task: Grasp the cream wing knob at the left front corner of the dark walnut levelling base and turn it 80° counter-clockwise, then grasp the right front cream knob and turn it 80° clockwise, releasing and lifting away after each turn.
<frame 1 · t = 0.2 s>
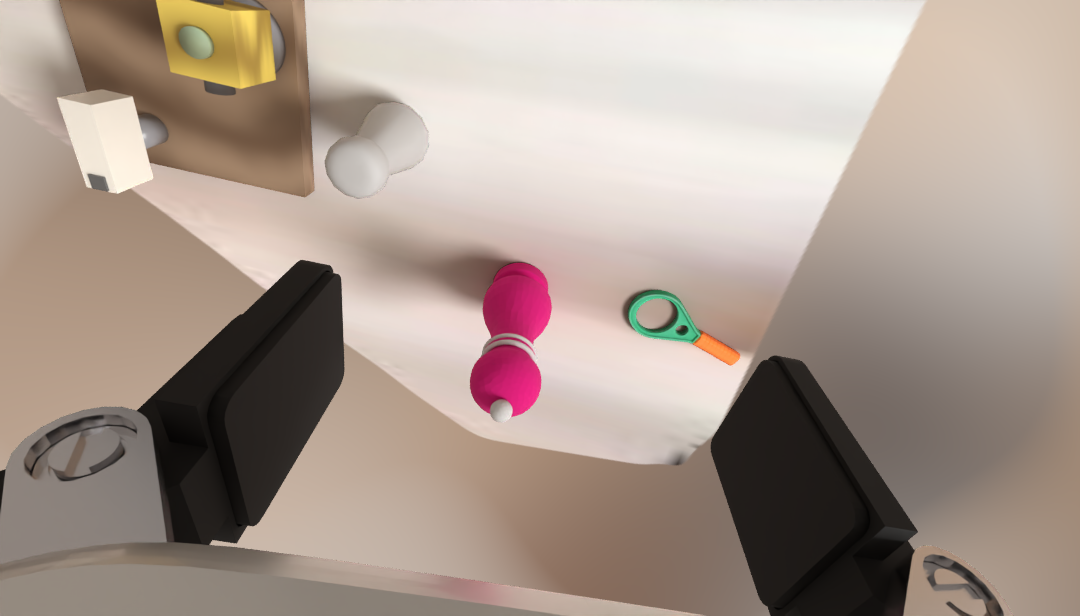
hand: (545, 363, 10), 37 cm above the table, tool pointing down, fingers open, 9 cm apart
level base: (195, 19, 39), on the table
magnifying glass: (683, 325, 55), on the table
salt shaker: (404, 130, 43), on the table
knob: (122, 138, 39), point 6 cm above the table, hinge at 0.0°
pepper mill: (520, 285, 52), on the table
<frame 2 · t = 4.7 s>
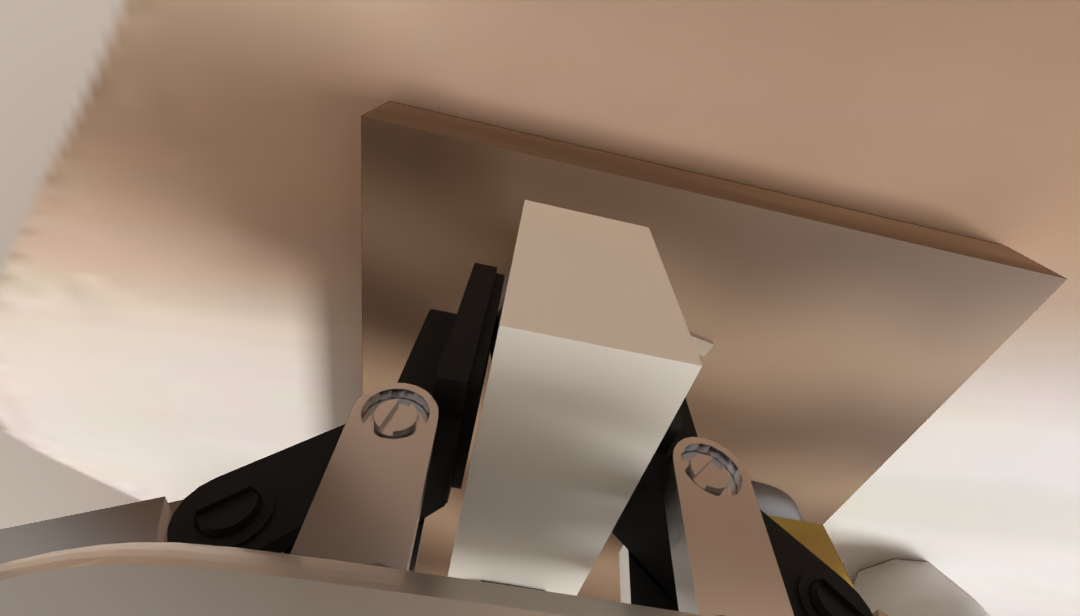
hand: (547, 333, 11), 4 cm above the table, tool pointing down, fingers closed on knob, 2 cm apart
level base: (591, 462, 20), on the table
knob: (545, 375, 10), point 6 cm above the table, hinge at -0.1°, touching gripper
salt shaker: (890, 574, 24), on the table
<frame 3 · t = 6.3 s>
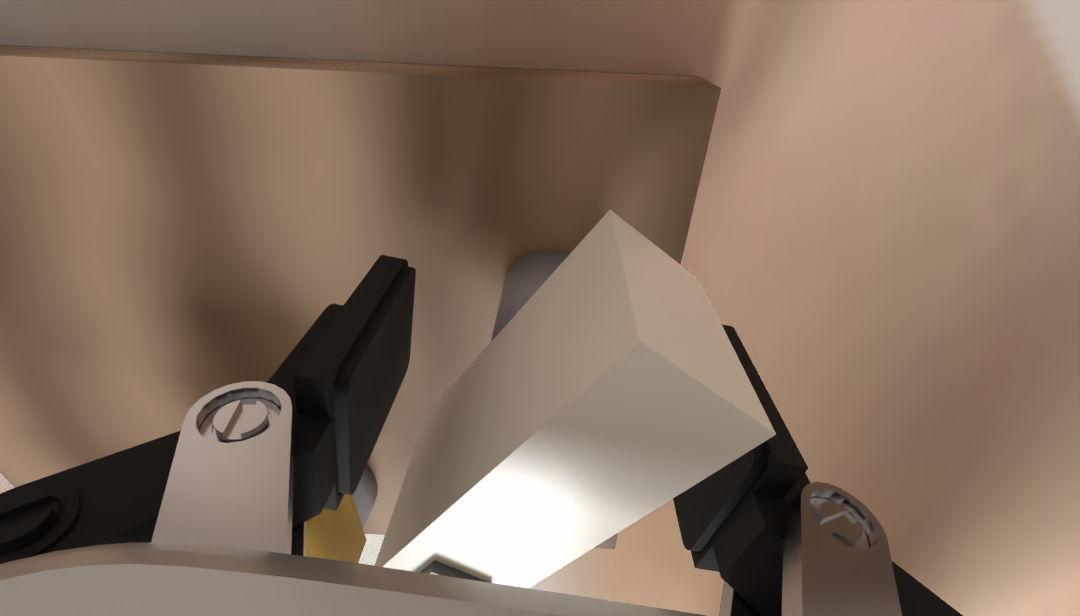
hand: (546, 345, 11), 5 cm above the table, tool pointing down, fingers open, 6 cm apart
level base: (291, 338, 17), on the table
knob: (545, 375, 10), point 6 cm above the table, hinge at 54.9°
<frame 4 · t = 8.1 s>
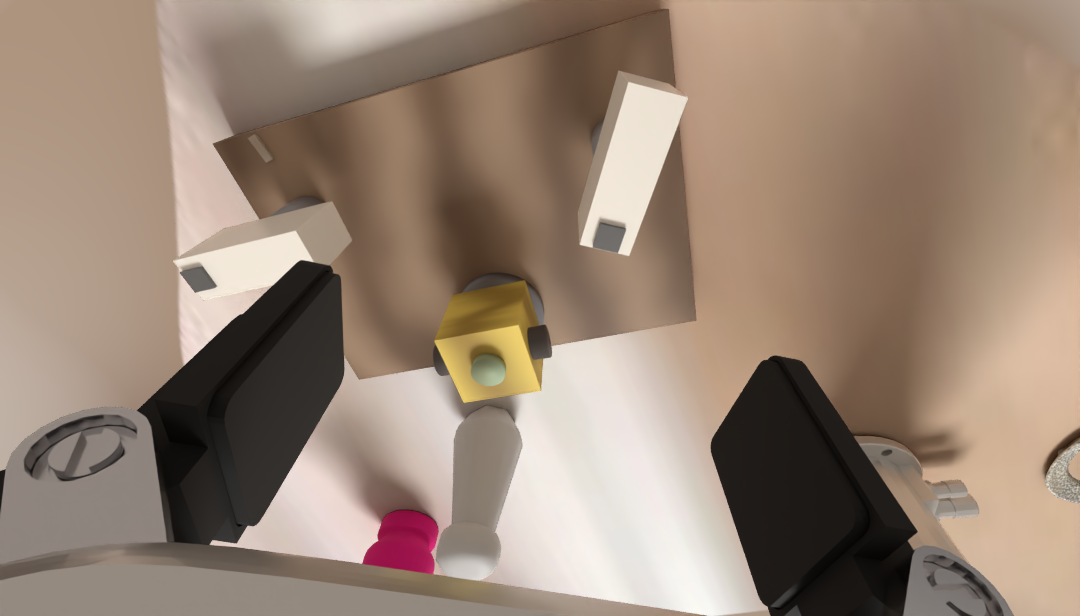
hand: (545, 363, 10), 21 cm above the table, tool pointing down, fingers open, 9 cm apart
level base: (480, 227, 31), on the table
salt shaker: (492, 419, 41), on the table
pepper mill: (411, 524, 51), on the table
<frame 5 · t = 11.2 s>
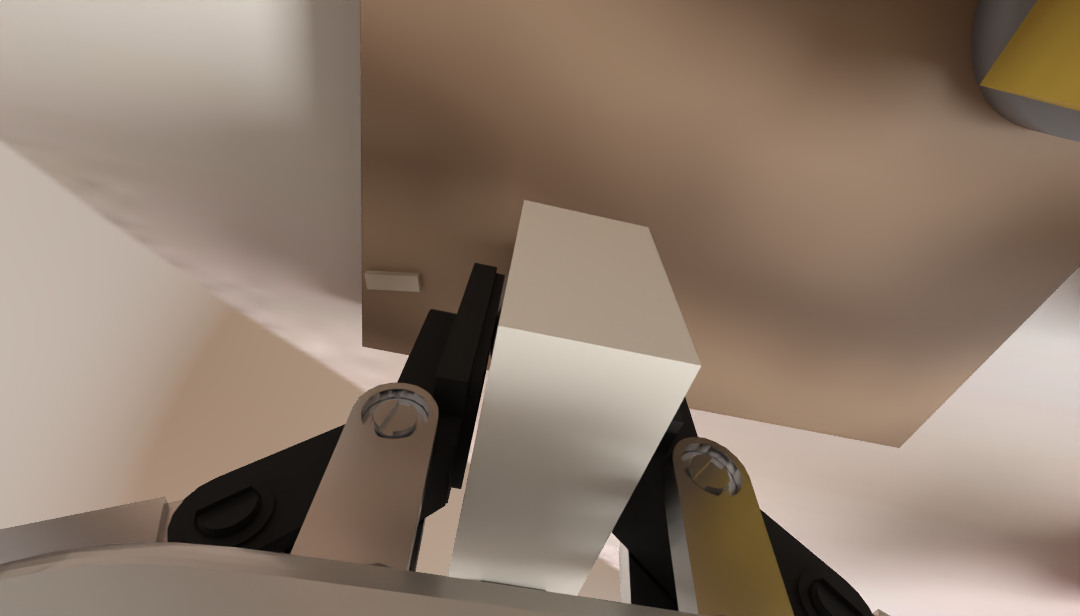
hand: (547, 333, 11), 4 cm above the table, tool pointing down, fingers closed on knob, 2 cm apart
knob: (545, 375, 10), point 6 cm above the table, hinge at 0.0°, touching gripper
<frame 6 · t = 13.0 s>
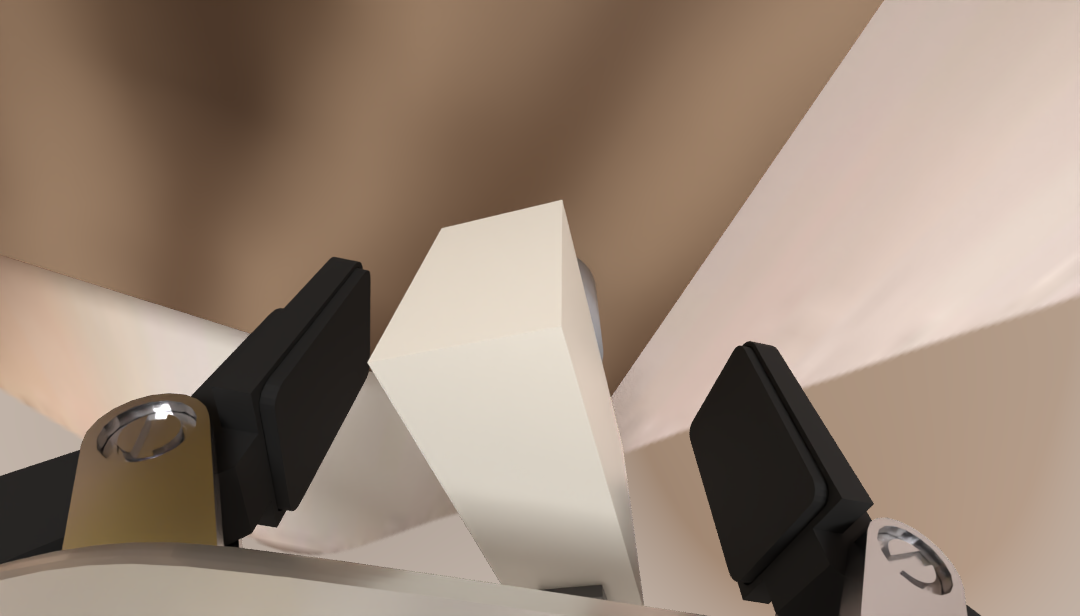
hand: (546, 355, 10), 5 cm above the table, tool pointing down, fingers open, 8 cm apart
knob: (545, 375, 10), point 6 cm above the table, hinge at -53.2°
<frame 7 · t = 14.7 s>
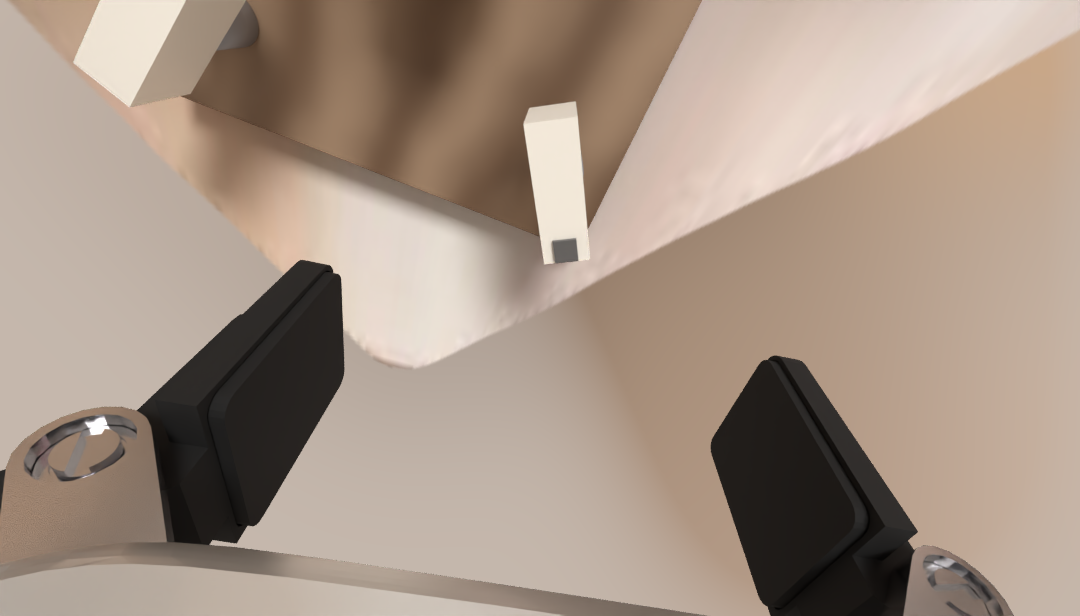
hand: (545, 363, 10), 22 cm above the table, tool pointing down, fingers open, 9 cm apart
level base: (434, 15, 26), on the table
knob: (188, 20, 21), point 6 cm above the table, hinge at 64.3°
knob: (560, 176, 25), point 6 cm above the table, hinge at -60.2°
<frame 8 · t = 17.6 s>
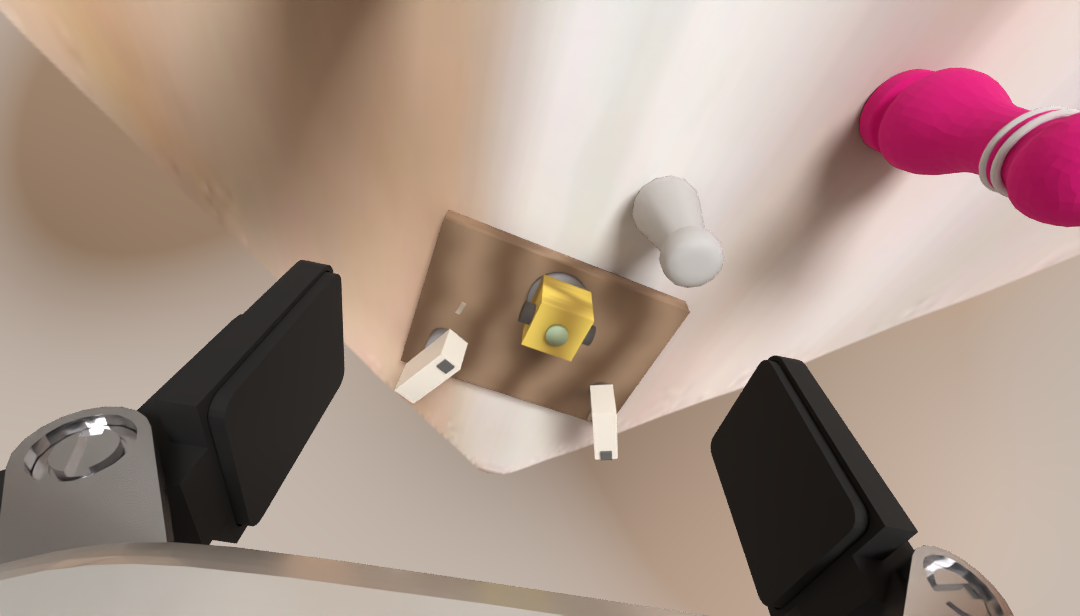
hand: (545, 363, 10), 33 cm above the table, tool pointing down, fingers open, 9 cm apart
level base: (538, 326, 51), on the table
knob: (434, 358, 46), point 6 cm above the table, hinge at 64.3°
salt shaker: (660, 199, 42), on the table
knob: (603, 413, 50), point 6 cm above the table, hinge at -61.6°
pepper mill: (898, 111, 37), on the table
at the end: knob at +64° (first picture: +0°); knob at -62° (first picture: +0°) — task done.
